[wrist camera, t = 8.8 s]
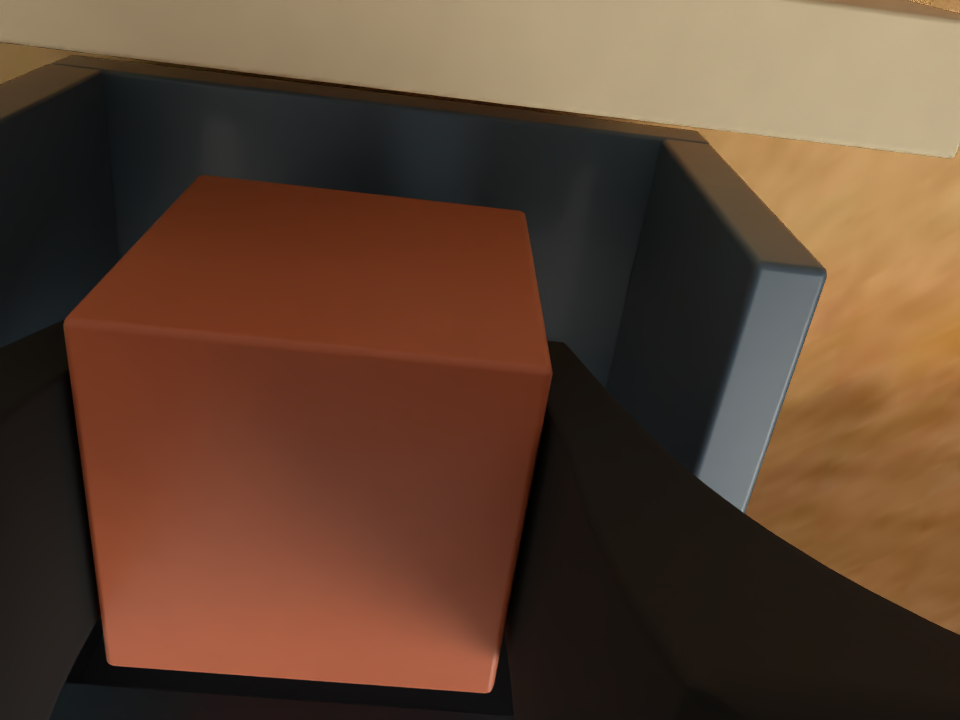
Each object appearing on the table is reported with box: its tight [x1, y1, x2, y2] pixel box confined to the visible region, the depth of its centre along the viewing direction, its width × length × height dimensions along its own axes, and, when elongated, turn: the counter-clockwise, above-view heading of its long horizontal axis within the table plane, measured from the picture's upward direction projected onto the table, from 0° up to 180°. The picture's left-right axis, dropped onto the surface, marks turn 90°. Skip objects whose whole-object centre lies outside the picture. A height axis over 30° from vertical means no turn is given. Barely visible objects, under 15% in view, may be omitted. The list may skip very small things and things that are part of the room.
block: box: [63, 175, 553, 693], centre depth 10 cm, size 4×4×4 cm
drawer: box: [0, 0, 960, 715], centre depth 13 cm, size 14×11×6 cm
